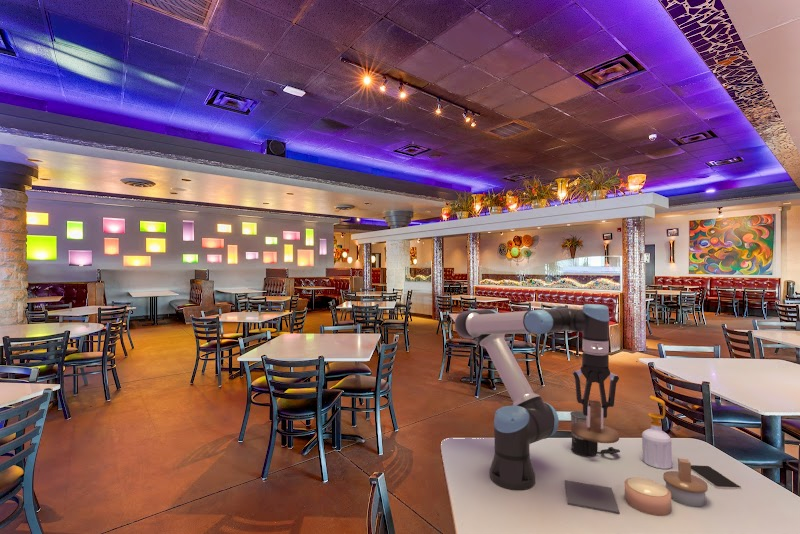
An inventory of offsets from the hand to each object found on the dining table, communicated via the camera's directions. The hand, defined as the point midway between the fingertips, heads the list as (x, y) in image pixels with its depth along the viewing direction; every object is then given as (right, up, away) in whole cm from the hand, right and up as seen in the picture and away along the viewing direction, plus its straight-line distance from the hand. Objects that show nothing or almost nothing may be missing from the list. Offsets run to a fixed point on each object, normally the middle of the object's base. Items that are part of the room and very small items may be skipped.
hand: (594, 426), depth 121 cm
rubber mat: (-2, -22, -1) cm, 22 cm away
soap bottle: (+34, -23, +21) cm, 46 cm away
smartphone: (+46, -23, +10) cm, 53 cm away
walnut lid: (0, -2, 0) cm, 2 cm away
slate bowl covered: (+28, -22, -2) cm, 35 cm away
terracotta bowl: (+14, -22, -5) cm, 26 cm away
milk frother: (+15, -23, +29) cm, 40 cm away
